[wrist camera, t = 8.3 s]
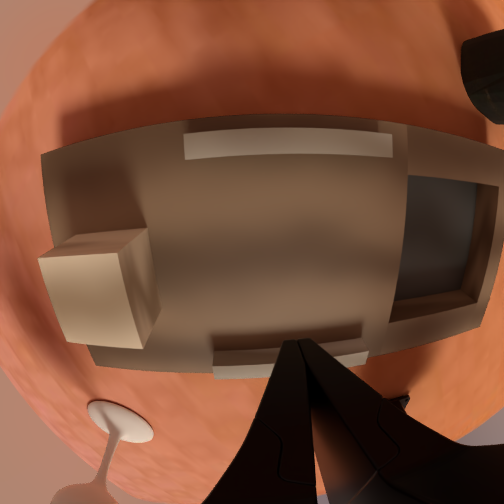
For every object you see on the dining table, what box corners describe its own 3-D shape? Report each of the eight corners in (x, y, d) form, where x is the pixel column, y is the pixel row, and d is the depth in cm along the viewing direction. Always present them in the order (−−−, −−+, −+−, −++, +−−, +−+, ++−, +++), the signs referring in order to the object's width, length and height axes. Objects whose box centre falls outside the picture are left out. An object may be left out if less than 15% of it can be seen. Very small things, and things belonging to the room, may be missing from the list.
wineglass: (117, 440, 26) (85, 561, 7) (75, 401, 24) (20, 532, 4) (167, 439, 26) (145, 585, 6) (123, 397, 23) (71, 568, 3)
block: (162, 307, 16) (143, 349, 12) (95, 306, 16) (67, 341, 12) (147, 227, 14) (117, 252, 10) (76, 234, 14) (37, 258, 10)
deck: (463, 311, 21) (488, 334, 16) (109, 343, 20) (89, 377, 16) (487, 149, 15) (523, 155, 11) (66, 152, 15) (25, 156, 11)
